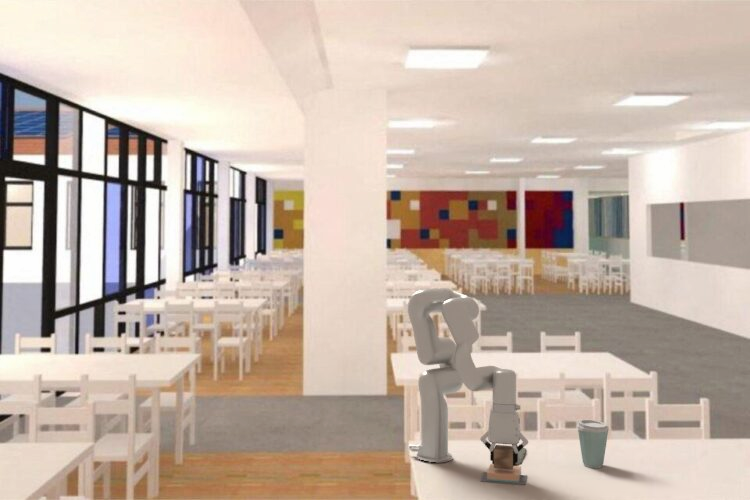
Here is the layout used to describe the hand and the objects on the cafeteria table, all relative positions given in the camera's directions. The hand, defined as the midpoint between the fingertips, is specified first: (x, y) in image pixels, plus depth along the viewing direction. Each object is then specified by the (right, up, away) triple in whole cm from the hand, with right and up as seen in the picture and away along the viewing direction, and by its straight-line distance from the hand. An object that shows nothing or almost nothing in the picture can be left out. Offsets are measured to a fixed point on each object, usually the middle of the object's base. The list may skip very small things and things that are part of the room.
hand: (504, 463), depth 237 cm
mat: (0, -5, -1) cm, 5 cm away
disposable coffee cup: (+33, -5, +14) cm, 36 cm away
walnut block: (0, -1, 0) cm, 1 cm away
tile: (+1, -3, +5) cm, 6 cm away
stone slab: (+7, -6, +26) cm, 27 cm away
